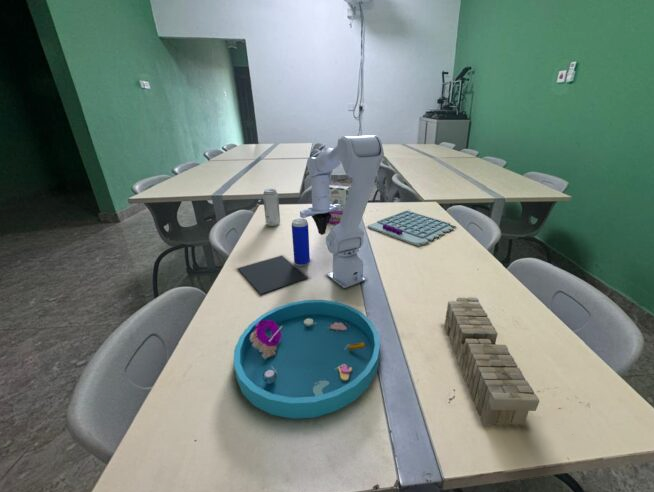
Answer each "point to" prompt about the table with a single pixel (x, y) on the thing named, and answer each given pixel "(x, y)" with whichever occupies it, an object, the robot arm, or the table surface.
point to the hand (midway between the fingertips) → (321, 233)
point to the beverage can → (300, 242)
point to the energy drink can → (271, 207)
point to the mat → (272, 274)
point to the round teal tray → (307, 358)
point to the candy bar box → (338, 201)
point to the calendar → (412, 227)
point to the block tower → (487, 366)
